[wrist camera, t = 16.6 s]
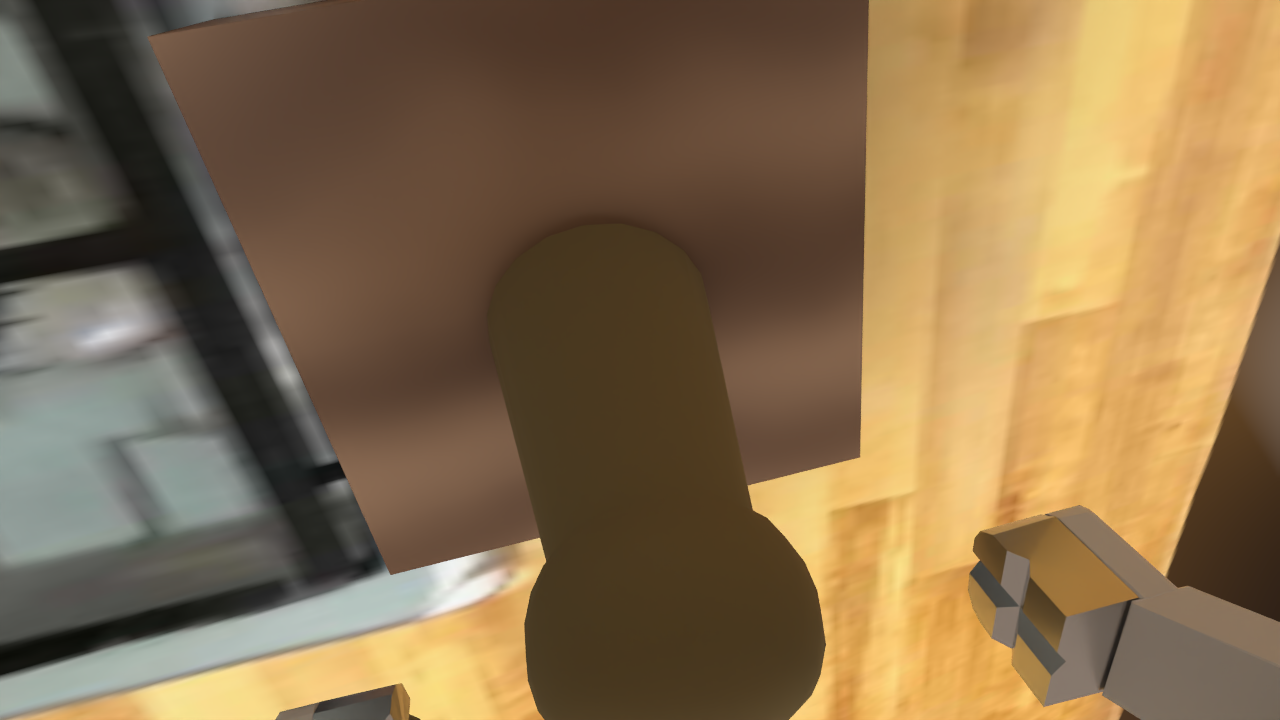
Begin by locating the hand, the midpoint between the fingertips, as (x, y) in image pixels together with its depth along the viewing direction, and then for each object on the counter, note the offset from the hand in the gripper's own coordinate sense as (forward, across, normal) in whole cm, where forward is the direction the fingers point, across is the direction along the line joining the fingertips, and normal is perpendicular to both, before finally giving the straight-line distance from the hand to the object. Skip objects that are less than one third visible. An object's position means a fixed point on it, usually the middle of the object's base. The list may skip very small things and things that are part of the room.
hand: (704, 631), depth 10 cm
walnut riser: (+16, 0, 0) cm, 17 cm away
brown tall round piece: (+11, 0, +1) cm, 11 cm away
